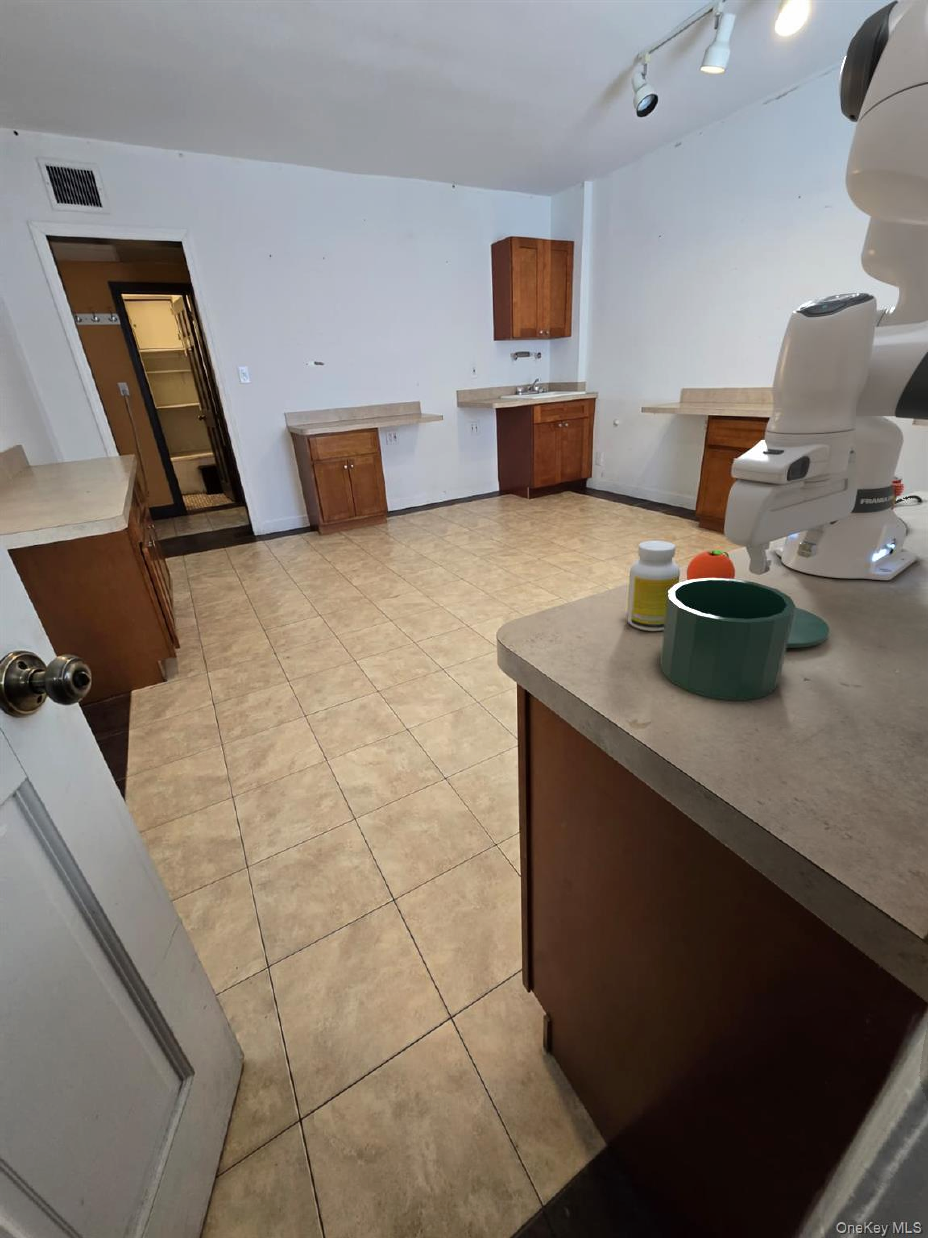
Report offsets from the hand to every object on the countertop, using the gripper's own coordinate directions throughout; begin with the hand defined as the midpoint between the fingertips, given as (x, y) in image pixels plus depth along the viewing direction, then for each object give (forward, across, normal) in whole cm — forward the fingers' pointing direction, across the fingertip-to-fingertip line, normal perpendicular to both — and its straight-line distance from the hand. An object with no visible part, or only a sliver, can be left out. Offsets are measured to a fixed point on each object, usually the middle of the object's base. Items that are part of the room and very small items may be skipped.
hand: (783, 563), depth 67 cm
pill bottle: (+9, +13, -10) cm, 18 cm away
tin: (+8, +16, +4) cm, 19 cm away
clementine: (+9, -3, -13) cm, 16 cm away
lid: (+8, +1, 0) cm, 8 cm away
